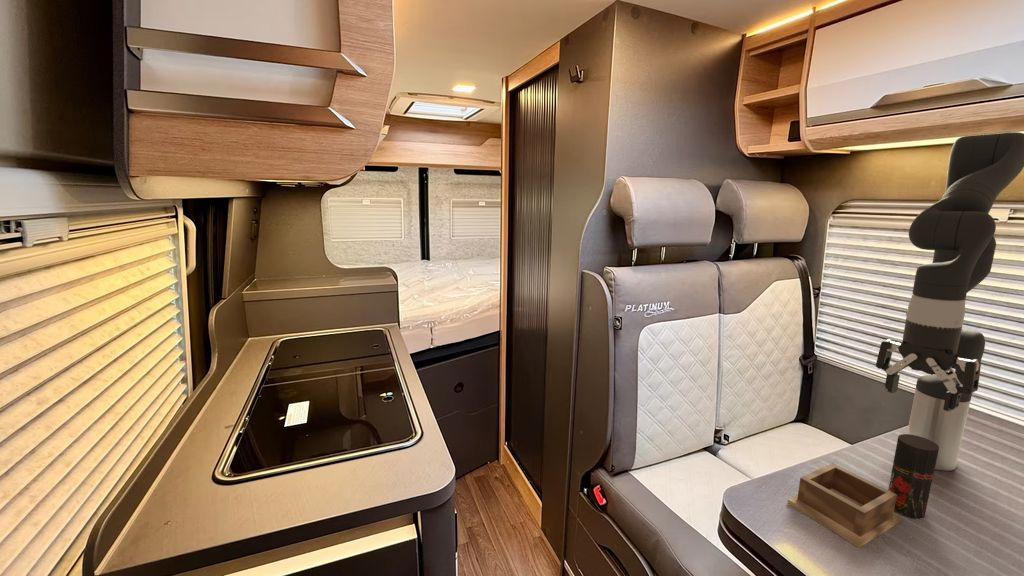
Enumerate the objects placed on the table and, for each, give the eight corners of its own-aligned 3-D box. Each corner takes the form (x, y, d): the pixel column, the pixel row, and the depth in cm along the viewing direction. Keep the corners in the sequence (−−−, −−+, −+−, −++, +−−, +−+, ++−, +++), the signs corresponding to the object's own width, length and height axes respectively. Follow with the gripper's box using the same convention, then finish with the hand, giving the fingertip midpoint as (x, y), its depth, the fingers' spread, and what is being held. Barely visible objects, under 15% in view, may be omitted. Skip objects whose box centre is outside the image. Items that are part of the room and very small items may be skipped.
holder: (829, 483, 96) (833, 458, 94) (901, 521, 84) (906, 494, 83) (787, 503, 89) (790, 477, 88) (859, 547, 78) (864, 519, 77)
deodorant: (932, 521, 84) (947, 452, 81) (897, 516, 85) (911, 448, 82) (911, 500, 90) (924, 435, 87) (879, 497, 91) (891, 432, 88)
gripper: (997, 327, 75) (978, 412, 78) (897, 308, 87) (885, 382, 91) (977, 333, 72) (959, 422, 75) (877, 314, 84) (865, 390, 88)
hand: (918, 400), depth 83 cm, fingers open, 8 cm apart
